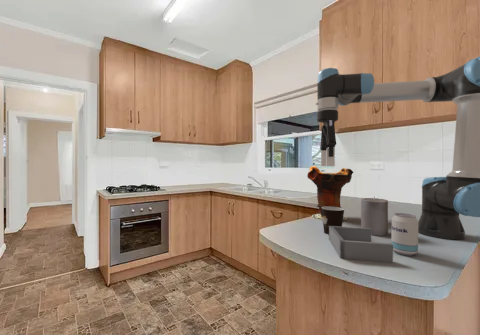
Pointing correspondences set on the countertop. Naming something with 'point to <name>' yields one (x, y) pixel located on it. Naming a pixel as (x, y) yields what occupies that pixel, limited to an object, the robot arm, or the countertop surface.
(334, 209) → the coffee mug
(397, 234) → the beverage can
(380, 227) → the pillar candle
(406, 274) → the countertop surface
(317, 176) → the decorative vase
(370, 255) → the box
